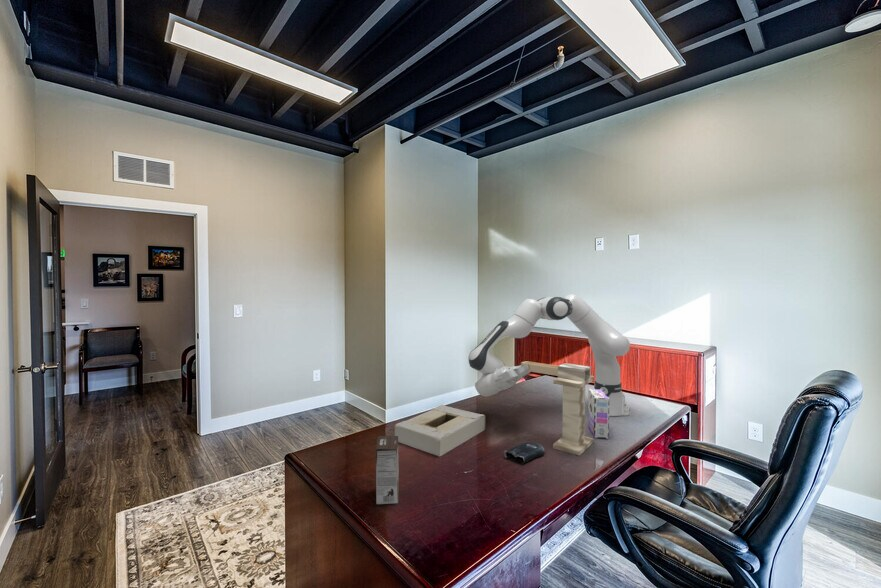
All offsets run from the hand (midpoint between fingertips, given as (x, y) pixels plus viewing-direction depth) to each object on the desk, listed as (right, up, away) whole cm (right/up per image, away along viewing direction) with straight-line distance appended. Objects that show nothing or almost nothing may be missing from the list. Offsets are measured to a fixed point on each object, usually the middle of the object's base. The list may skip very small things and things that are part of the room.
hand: (531, 365), depth 158 cm
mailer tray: (+4, -2, -3) cm, 5 cm away
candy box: (+28, -29, +2) cm, 40 cm away
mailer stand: (+14, -29, -10) cm, 34 cm away
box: (-37, -29, 0) cm, 47 cm away
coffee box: (-53, -30, -44) cm, 76 cm away
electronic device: (-6, -30, -18) cm, 36 cm away
